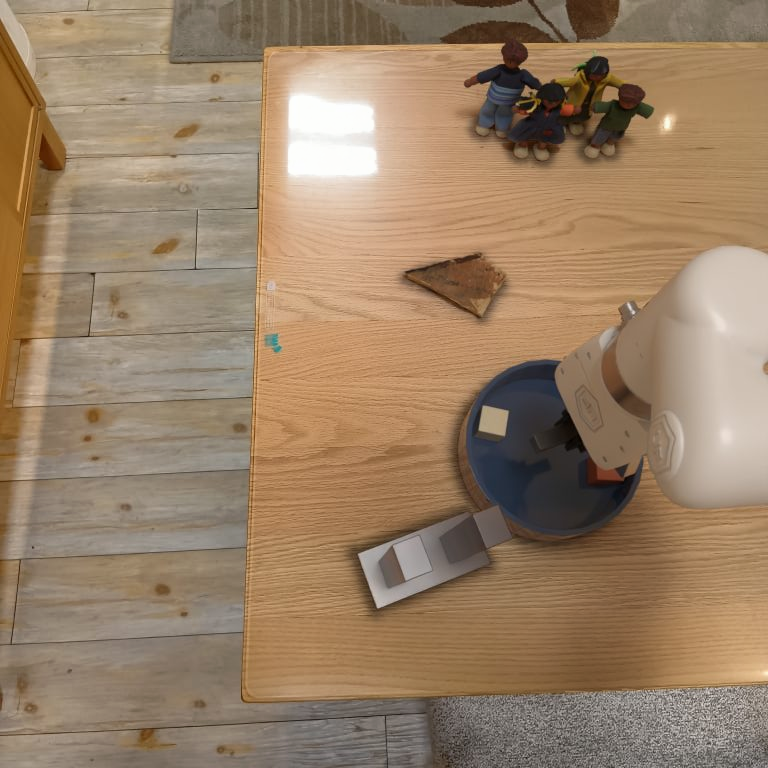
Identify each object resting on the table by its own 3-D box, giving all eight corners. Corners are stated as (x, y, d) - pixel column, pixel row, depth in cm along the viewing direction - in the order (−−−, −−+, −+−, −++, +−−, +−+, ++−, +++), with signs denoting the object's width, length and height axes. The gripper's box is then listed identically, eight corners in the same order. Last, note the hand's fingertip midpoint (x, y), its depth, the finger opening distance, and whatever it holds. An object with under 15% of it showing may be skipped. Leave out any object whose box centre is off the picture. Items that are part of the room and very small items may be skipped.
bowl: (652, 504, 77) (675, 497, 72) (498, 566, 74) (510, 563, 69) (578, 354, 82) (594, 337, 77) (432, 406, 79) (438, 392, 74)
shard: (402, 277, 84) (404, 270, 82) (433, 232, 86) (435, 224, 85) (479, 321, 83) (482, 315, 81) (508, 274, 85) (512, 267, 83)
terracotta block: (613, 485, 77) (624, 480, 74) (587, 484, 77) (597, 479, 74) (612, 459, 78) (622, 453, 75) (586, 458, 78) (595, 452, 75)
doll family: (465, 170, 90) (486, 98, 77) (452, 114, 92) (471, 35, 80) (631, 154, 92) (678, 82, 79) (614, 100, 95) (657, 21, 82)
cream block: (498, 442, 78) (505, 436, 75) (473, 437, 78) (478, 430, 75) (502, 417, 79) (509, 410, 76) (477, 412, 79) (482, 404, 76)
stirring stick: (528, 438, 65) (533, 434, 64) (620, 404, 67) (626, 400, 65) (535, 454, 65) (540, 450, 63) (628, 419, 66) (634, 415, 65)
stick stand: (488, 564, 74) (541, 548, 55) (376, 609, 72) (390, 609, 53) (467, 512, 76) (511, 479, 57) (356, 554, 73) (364, 535, 54)
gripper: (564, 292, 52) (506, 374, 69) (662, 486, 47) (574, 522, 64) (650, 263, 53) (572, 351, 70) (753, 449, 48) (643, 494, 66)
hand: (574, 433), depth 67 cm, fingers closed on stirring stick, 1 cm apart
